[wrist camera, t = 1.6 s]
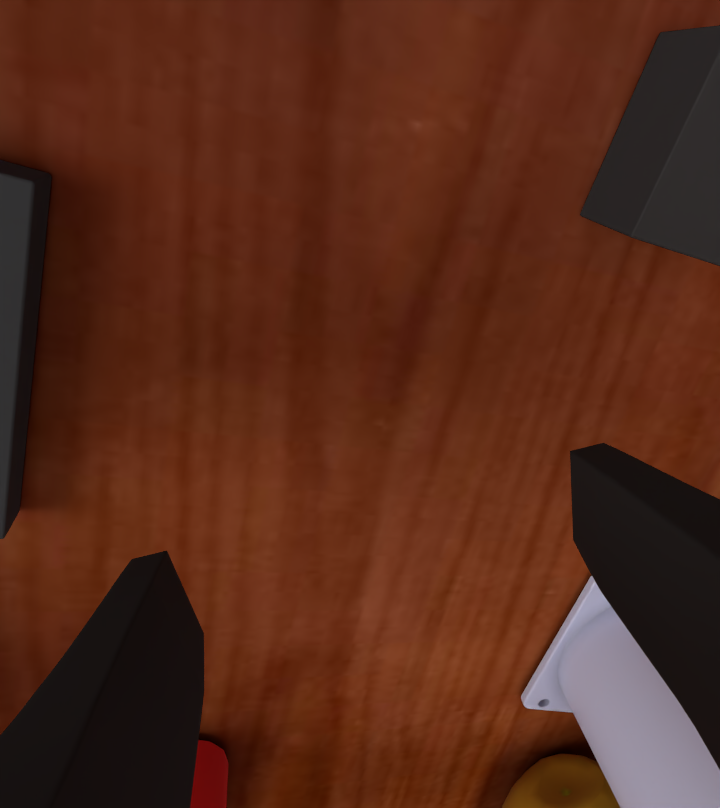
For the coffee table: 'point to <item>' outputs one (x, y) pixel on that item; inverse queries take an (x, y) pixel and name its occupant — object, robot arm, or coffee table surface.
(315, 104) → the coffee table surface
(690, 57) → the dark grey rectangular block
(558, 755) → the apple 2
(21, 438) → the base pad
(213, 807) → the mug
